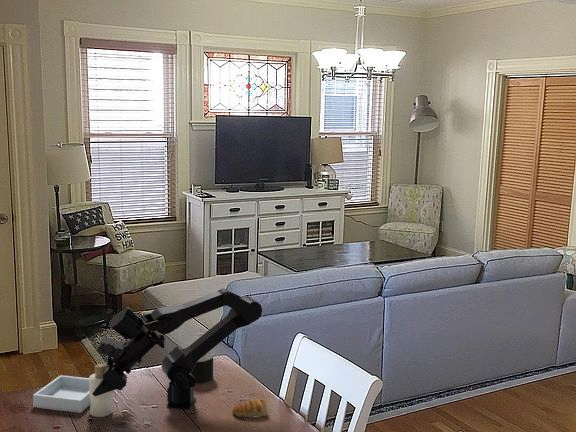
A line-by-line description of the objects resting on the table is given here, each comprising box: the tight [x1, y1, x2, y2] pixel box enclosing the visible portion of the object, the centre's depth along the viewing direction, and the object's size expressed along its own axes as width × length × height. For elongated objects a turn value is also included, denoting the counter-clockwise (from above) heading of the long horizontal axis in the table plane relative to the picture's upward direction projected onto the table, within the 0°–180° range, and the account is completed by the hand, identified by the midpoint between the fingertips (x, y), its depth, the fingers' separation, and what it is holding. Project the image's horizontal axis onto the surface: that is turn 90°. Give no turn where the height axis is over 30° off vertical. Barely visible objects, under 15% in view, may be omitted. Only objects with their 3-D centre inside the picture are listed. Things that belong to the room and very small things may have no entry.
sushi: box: [191, 351, 214, 384], centre depth 198 cm, size 8×8×8 cm
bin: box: [32, 374, 90, 414], centre depth 182 cm, size 14×14×4 cm
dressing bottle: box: [88, 363, 114, 418], centre depth 174 cm, size 6×6×13 cm
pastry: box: [232, 397, 269, 418], centre depth 177 cm, size 9×7×4 cm
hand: (95, 388), depth 174 cm, fingers open, 8 cm apart
